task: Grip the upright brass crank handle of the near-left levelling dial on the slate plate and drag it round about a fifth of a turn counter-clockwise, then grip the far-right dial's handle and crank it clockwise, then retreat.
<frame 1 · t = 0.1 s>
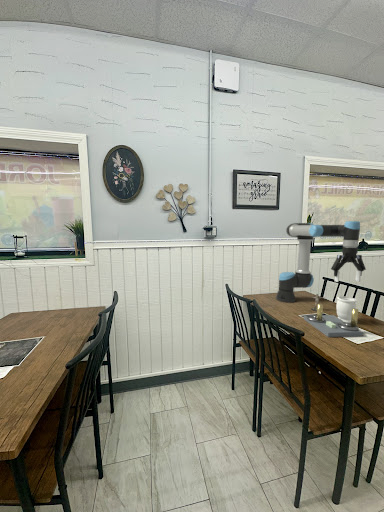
hand: (347, 281, 133), 28 cm above the table, fingers open, 13 cm apart
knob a: (316, 310, 138), point 8 cm above the table, hinge at 0.0°
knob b: (348, 318, 127), point 8 cm above the table, hinge at 0.0°
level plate: (330, 326, 133), on the table
figurine: (316, 310, 162), on the table
jar: (344, 320, 143), on the table
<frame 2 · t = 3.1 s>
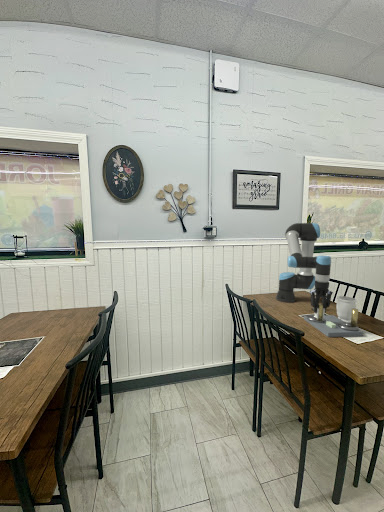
hand: (319, 317, 135), 5 cm above the table, fingers closed on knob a, 3 cm apart
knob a: (316, 310, 138), point 8 cm above the table, hinge at 0.0°, touching gripper
everything else where it was.
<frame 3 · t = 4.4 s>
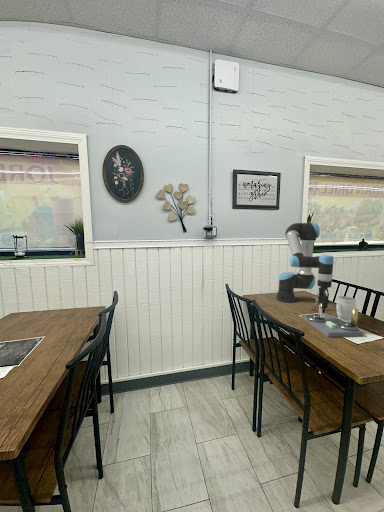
hand: (321, 316, 137), 5 cm above the table, fingers closed on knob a, 3 cm apart
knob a: (316, 310, 138), point 8 cm above the table, hinge at 62.7°, touching gripper
everything else where it was.
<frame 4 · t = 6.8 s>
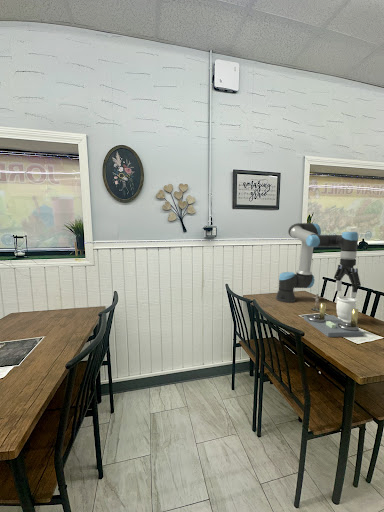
hand: (345, 294, 128), 22 cm above the table, fingers open, 13 cm apart
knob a: (316, 310, 138), point 8 cm above the table, hinge at 64.9°
everything else where it was.
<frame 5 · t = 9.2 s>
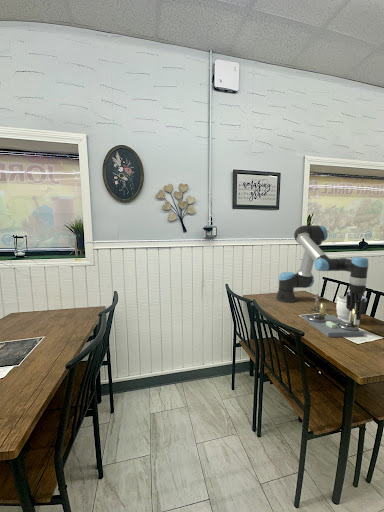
hand: (353, 323, 127), 5 cm above the table, fingers closed on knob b, 3 cm apart
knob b: (348, 318, 127), point 8 cm above the table, hinge at 0.0°, touching gripper
everything else where it was.
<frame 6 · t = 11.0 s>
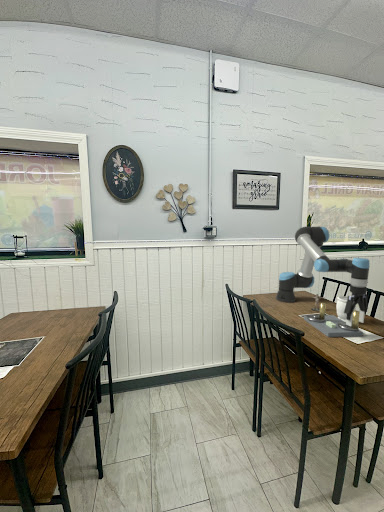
hand: (354, 323, 124), 6 cm above the table, fingers open, 10 cm apart
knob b: (348, 318, 127), point 8 cm above the table, hinge at -62.4°
everything else where it was.
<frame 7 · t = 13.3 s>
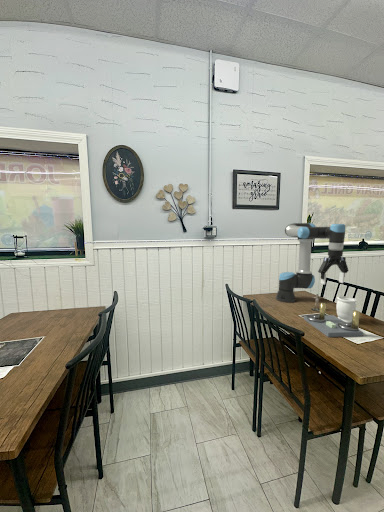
hand: (332, 283, 135), 26 cm above the table, fingers open, 13 cm apart
nothing on the table moved.
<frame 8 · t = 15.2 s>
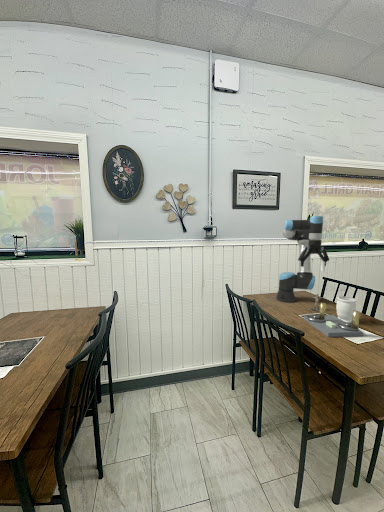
hand: (312, 271, 146), 32 cm above the table, fingers open, 13 cm apart
nothing on the table moved.
at the end: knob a at +65° (first picture: +0°); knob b at -62° (first picture: +0°) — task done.
